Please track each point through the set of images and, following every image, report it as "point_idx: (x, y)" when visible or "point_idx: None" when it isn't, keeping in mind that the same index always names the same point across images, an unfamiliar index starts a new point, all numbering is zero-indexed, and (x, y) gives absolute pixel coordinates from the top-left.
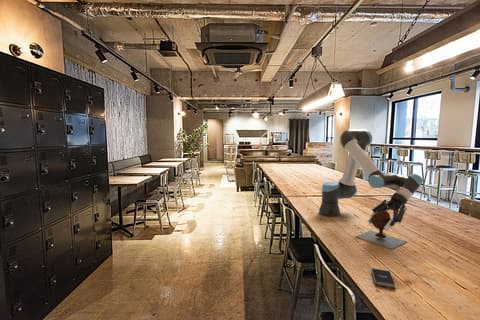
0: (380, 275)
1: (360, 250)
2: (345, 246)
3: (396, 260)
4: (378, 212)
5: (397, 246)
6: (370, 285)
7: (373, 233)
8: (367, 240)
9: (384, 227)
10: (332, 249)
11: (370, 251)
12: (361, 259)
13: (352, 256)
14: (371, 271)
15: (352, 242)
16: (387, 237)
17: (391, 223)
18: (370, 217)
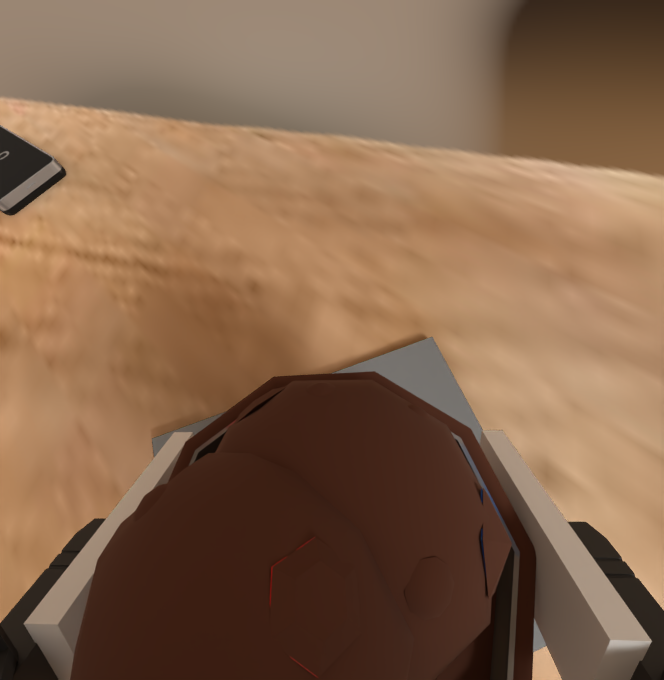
0: (3, 157)
1: (239, 247)
2: (310, 206)
3: (57, 345)
4: (373, 516)
5: None
6: (21, 127)
7: None
8: (337, 371)
9: (181, 437)
10: (299, 141)
11: (206, 288)
12: (161, 197)
13: (203, 179)
14: (61, 166)
15: (350, 270)
16: None
17: (81, 545)
18: (536, 484)
